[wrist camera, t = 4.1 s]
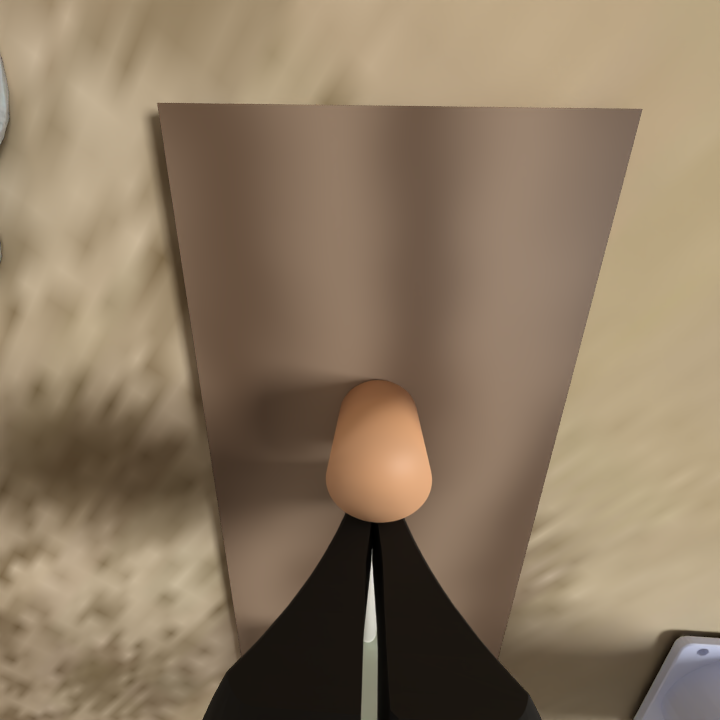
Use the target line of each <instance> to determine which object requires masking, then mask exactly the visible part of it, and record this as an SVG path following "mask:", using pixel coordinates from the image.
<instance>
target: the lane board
mask: <svg viewBox="0 0 720 720" xmlns="http://www.w3.org/2000/svg"><path fill="white" fill-rule="evenodd" d="M157 104H158V111H159V118H160V124H161V131H162V137H163V144H164V151H165V157H166V164H167V170H168V177H169V184H170V190H171V197H172V203H173V210H174V217H175V223H176V230H177V236H178V243H179V250H180V256H181V263H182V269H183V276H184V283H185V289H186V296H187V302H188V309H189V316H190V322H191V329H192V335H193V342H194V349H195V355H196V362H197V368H198V375H199V382H200V388H201V395H202V401H203V408H204V414H205V421H206V428H207V434H208V441H209V447H210V454H211V461H212V467H213V474H214V480H215V487H216V494H217V500H218V507H219V513H220V520H221V527H222V533H223V540H224V546H225V553H226V560H227V566H228V573H229V579H230V586H231V593H232V599H233V606H234V612H235V619H236V626H237V632H238V639H239V645H240V652H241V657H242V656H243V655H244V654H245V653H246V652H247V651H248V650H249V649H250V648H251V647H252V646H253V645H254V644H255V643H256V642H257V641H258V640H259V638H260V637H261V636H262V635H263V634H264V633H265V632H266V631H267V629H268V628H269V627H270V626H271V625H272V624H273V622H274V621H275V620H276V619H277V618H278V617H279V616H280V614H281V613H282V612H283V611H284V610H285V608H286V607H287V606H288V605H289V604H290V602H291V601H292V600H293V598H294V597H295V596H296V594H297V593H298V592H299V590H300V589H301V588H302V586H303V585H304V584H305V582H306V581H307V579H308V578H309V577H310V575H311V574H312V572H313V571H314V569H315V568H316V566H317V565H318V563H319V561H320V560H321V558H322V557H323V555H324V553H325V551H326V550H327V548H328V546H329V544H330V543H331V541H332V539H333V537H334V536H335V534H336V532H337V530H338V528H339V526H340V523H341V521H342V519H343V517H344V515H345V513H346V512H344V511H343V510H342V509H340V508H339V507H338V506H337V505H336V503H335V502H334V501H333V500H332V498H331V496H330V494H329V492H328V489H327V485H326V471H327V467H328V462H329V458H330V453H331V448H332V444H333V439H334V435H335V430H336V425H337V421H338V416H339V412H340V407H341V404H342V401H343V399H344V397H345V396H346V395H347V393H348V392H349V391H350V390H351V389H353V388H354V387H356V386H357V385H359V384H361V383H364V382H367V381H372V380H384V381H389V382H392V383H395V384H397V385H399V386H401V387H402V388H404V389H405V390H406V391H407V392H408V393H409V394H410V395H411V397H412V398H413V400H414V402H415V405H416V408H417V413H418V417H419V421H420V426H421V430H422V434H423V439H424V443H425V447H426V452H427V456H428V460H429V465H430V469H431V474H432V486H431V491H430V493H429V496H428V498H427V499H426V501H425V502H424V504H423V505H422V506H421V507H420V508H419V509H418V510H417V511H415V512H414V513H412V514H411V515H409V516H407V517H405V521H406V523H407V525H408V527H409V529H410V531H411V534H412V536H413V538H414V540H415V542H416V544H417V546H418V548H419V550H420V551H421V553H422V555H423V557H424V559H425V560H426V562H427V564H428V566H429V567H430V569H431V571H432V572H433V574H434V576H435V577H436V579H437V580H438V582H439V584H440V585H441V587H442V588H443V590H444V591H445V593H446V594H447V596H448V597H449V599H450V600H451V601H452V603H453V604H454V606H455V607H456V609H457V610H458V611H459V612H460V614H461V615H462V616H463V618H464V619H465V620H466V622H467V623H468V624H469V626H470V627H471V628H472V629H473V631H474V632H475V633H476V635H477V636H478V637H479V639H480V640H481V641H482V642H483V643H484V645H485V646H486V647H487V648H488V649H489V650H490V652H491V653H492V654H493V655H494V656H495V658H496V659H497V660H498V657H499V653H500V649H501V645H502V641H503V638H504V634H505V630H506V626H507V622H508V619H509V615H510V611H511V607H512V603H513V600H514V596H515V592H516V588H517V584H518V581H519V577H520V573H521V569H522V565H523V561H524V558H525V554H526V550H527V546H528V542H529V539H530V535H531V531H532V527H533V523H534V520H535V516H536V512H537V508H538V504H539V501H540V497H541V493H542V489H543V485H544V482H545V478H546V474H547V470H548V466H549V463H550V459H551V455H552V451H553V447H554V444H555V440H556V436H557V432H558V428H559V425H560V421H561V417H562V413H563V409H564V405H565V402H566V398H567V394H568V390H569V386H570V383H571V379H572V375H573V371H574V367H575V364H576V360H577V356H578V352H579V348H580V345H581V341H582V337H583V333H584V329H585V326H586V322H587V318H588V314H589V310H590V307H591V303H592V299H593V295H594V291H595V288H596V284H597V280H598V276H599V272H600V268H601V265H602V261H603V257H604V253H605V249H606V246H607V242H608V238H609V234H610V230H611V227H612V223H613V219H614V215H615V211H616V208H617V204H618V200H619V196H620V192H621V189H622V185H623V181H624V177H625V173H626V170H627V166H628V162H629V158H630V154H631V151H632V147H633V143H634V139H635V135H636V132H637V128H638V124H639V120H640V116H641V112H642V109H602V108H522V107H442V106H362V105H282V104H202V103H157Z"/></svg>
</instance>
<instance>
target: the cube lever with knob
mask: <svg viewBox="0 0 720 720" xmlns="http://www.w3.org/2000/svg"><path fill="white" fill-rule="evenodd" d="M326 485H327V489H328V492H329V494H330V496H331V498H332V500H333V501H334V502H335V503H336V505H337V506H338V507H339V508H340V509H342V510H343V511H344V512H346V513H347V514H349V515H351V516H353V517H355V518H357V519H360V520H363V521H368V522H376V523H384V522H392V521H396V520H400V519H403V518H405V517H407V516H409V515H411V514H412V513H414V512H415V511H417V510H418V509H419V508H420V507H421V506H422V505H423V504H424V502H425V501H426V499H427V498H428V496H429V493H430V491H431V486H432V474H431V469H430V465H429V460H428V456H427V452H426V447H425V443H424V439H423V434H422V430H421V426H420V421H419V417H418V413H417V408H416V405H415V402H414V400H413V398H412V397H411V395H410V394H409V393H408V392H407V391H406V390H405V389H404V388H402V387H401V386H399V385H397V384H395V383H392V382H389V381H384V380H372V381H367V382H364V383H361V384H359V385H357V386H356V387H354V388H353V389H351V390H350V391H349V392H348V393H347V395H346V396H345V397H344V399H343V401H342V404H341V407H340V412H339V416H338V421H337V425H336V430H335V435H334V439H333V444H332V448H331V453H330V458H329V462H328V467H327V471H326ZM377 676H378V647H377V626H376V611H375V597H374V582H373V568H372V562H371V571H370V581H369V590H368V599H367V609H366V618H365V627H364V640H363V672H362V704H361V720H377Z"/></svg>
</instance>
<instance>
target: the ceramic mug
mask: <svg viewBox="0 0 720 720" xmlns="http://www.w3.org/2000/svg"><path fill="white" fill-rule="evenodd" d="M8 99H9V90H8V85H7V79H6V75H5V70H4V66H3V61H2V57H1V55H0V144H1V142H2V140H3V138H4V135H5V131H6V127H7V124H8V121H9V100H8ZM1 258H2V254H1V243H0V262H1Z"/></svg>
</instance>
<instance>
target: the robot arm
mask: <svg viewBox="0 0 720 720" xmlns="http://www.w3.org/2000/svg"><path fill="white" fill-rule="evenodd" d="M371 562H372V568H373V582H374V597H375V611H376V626H377V647H378V676H377V720H541V717H540V715H539V713H538V711H537V709H536V707H535V705H534V703H533V701H532V699H531V697H530V695H529V694H528V693H527V692H526V691H525V690H524V689H523V687H522V686H521V685H520V684H519V683H518V682H517V681H516V680H515V679H514V678H513V677H512V676H511V675H510V673H509V672H508V671H507V670H506V669H505V668H504V667H503V666H502V664H501V663H500V662H499V661H498V660H497V659H496V658H495V656H494V655H493V654H492V653H491V652H490V650H489V649H488V648H487V647H486V646H485V645H484V643H483V642H482V641H481V640H480V639H479V637H478V636H477V635H476V633H475V632H474V631H473V629H472V628H471V627H470V626H469V624H468V623H467V622H466V620H465V619H464V618H463V616H462V615H461V614H460V612H459V611H458V610H457V609H456V607H455V606H454V604H453V603H452V601H451V600H450V599H449V597H448V596H447V594H446V593H445V591H444V590H443V588H442V587H441V585H440V584H439V582H438V580H437V579H436V577H435V576H434V574H433V572H432V571H431V569H430V567H429V566H428V564H427V562H426V560H425V559H424V557H423V555H422V553H421V551H420V550H419V548H418V546H417V544H416V542H415V540H414V538H413V536H412V534H411V531H410V529H409V527H408V525H407V523H406V521H405V518H403V519H400V520H396V521H392V522H384V523H376V522H368V521H363V520H360V519H357V518H355V517H353V516H351V515H349V514H347V513H345V515H344V517H343V519H342V521H341V523H340V526H339V528H338V530H337V532H336V534H335V536H334V537H333V539H332V541H331V543H330V544H329V546H328V548H327V550H326V551H325V553H324V555H323V557H322V558H321V560H320V561H319V563H318V565H317V566H316V568H315V569H314V571H313V572H312V574H311V575H310V577H309V578H308V579H307V581H306V582H305V584H304V585H303V586H302V588H301V589H300V590H299V592H298V593H297V594H296V596H295V597H294V598H293V600H292V601H291V602H290V604H289V605H288V606H287V607H286V608H285V610H284V611H283V612H282V613H281V614H280V616H279V617H278V618H277V619H276V620H275V621H274V622H273V624H272V625H271V626H270V627H269V628H268V629H267V631H266V632H265V633H264V634H263V635H262V636H261V637H260V638H259V640H258V641H257V642H256V643H255V644H254V645H253V646H252V647H251V648H250V649H249V650H248V651H247V652H246V653H245V654H244V655H243V656H242V657H241V658H240V659H239V660H238V661H237V662H236V663H235V664H234V665H233V666H232V667H231V668H230V669H229V670H228V671H227V672H226V674H225V676H224V678H223V679H222V681H221V683H220V685H219V687H218V689H217V690H216V692H215V694H214V696H213V698H212V700H211V702H210V704H209V706H208V709H207V711H206V713H205V715H204V717H203V720H361V704H362V672H363V640H364V627H365V618H366V609H367V599H368V590H369V581H370V571H371ZM633 720H720V638H711V637H697V636H683V637H680V638H678V639H677V640H676V641H675V642H674V644H673V646H672V648H671V650H670V652H669V654H668V656H667V657H666V659H665V661H664V663H663V665H662V667H661V669H660V671H659V672H658V674H657V676H656V678H655V680H654V682H653V684H652V686H651V687H650V689H649V691H648V693H647V695H646V697H645V699H644V700H643V702H642V704H641V706H640V708H639V710H638V712H637V714H636V715H635V717H634V719H633Z"/></svg>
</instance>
